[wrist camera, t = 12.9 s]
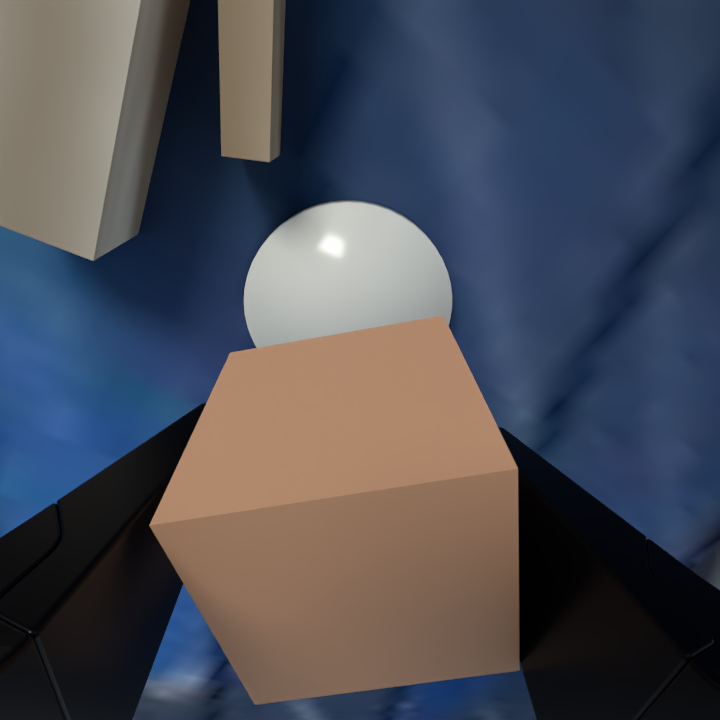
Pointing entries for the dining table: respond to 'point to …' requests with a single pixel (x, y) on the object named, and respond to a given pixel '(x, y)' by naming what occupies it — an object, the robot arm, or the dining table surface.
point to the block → (349, 516)
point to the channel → (251, 77)
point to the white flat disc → (343, 274)
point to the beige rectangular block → (83, 115)
